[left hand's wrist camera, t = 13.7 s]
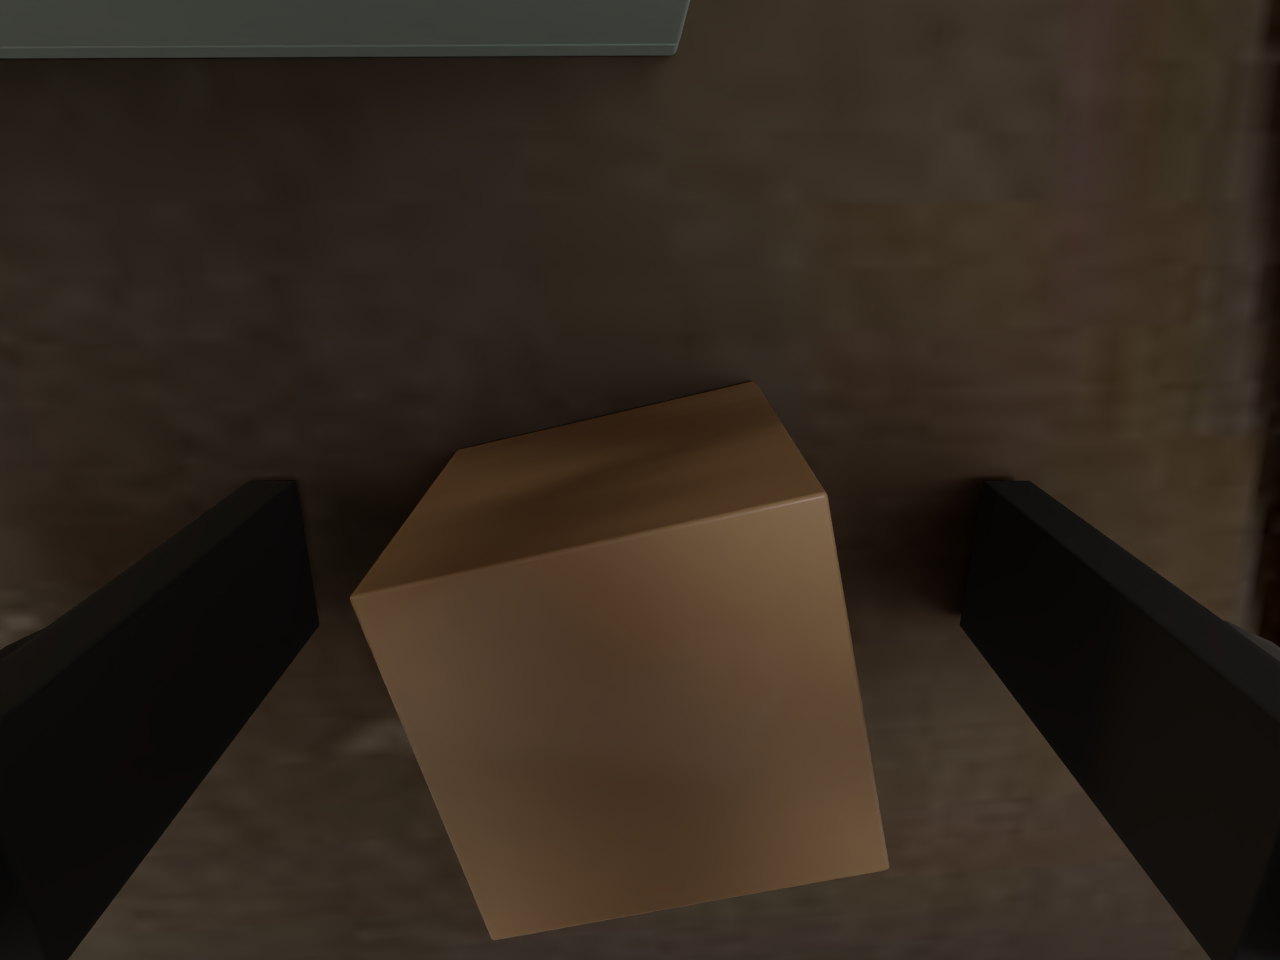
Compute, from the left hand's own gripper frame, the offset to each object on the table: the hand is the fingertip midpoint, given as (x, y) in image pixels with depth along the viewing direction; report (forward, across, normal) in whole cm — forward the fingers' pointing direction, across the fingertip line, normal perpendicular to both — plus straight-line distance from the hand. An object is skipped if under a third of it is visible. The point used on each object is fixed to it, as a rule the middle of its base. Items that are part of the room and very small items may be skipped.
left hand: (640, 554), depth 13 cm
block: (0, 0, 0) cm, 0 cm away
